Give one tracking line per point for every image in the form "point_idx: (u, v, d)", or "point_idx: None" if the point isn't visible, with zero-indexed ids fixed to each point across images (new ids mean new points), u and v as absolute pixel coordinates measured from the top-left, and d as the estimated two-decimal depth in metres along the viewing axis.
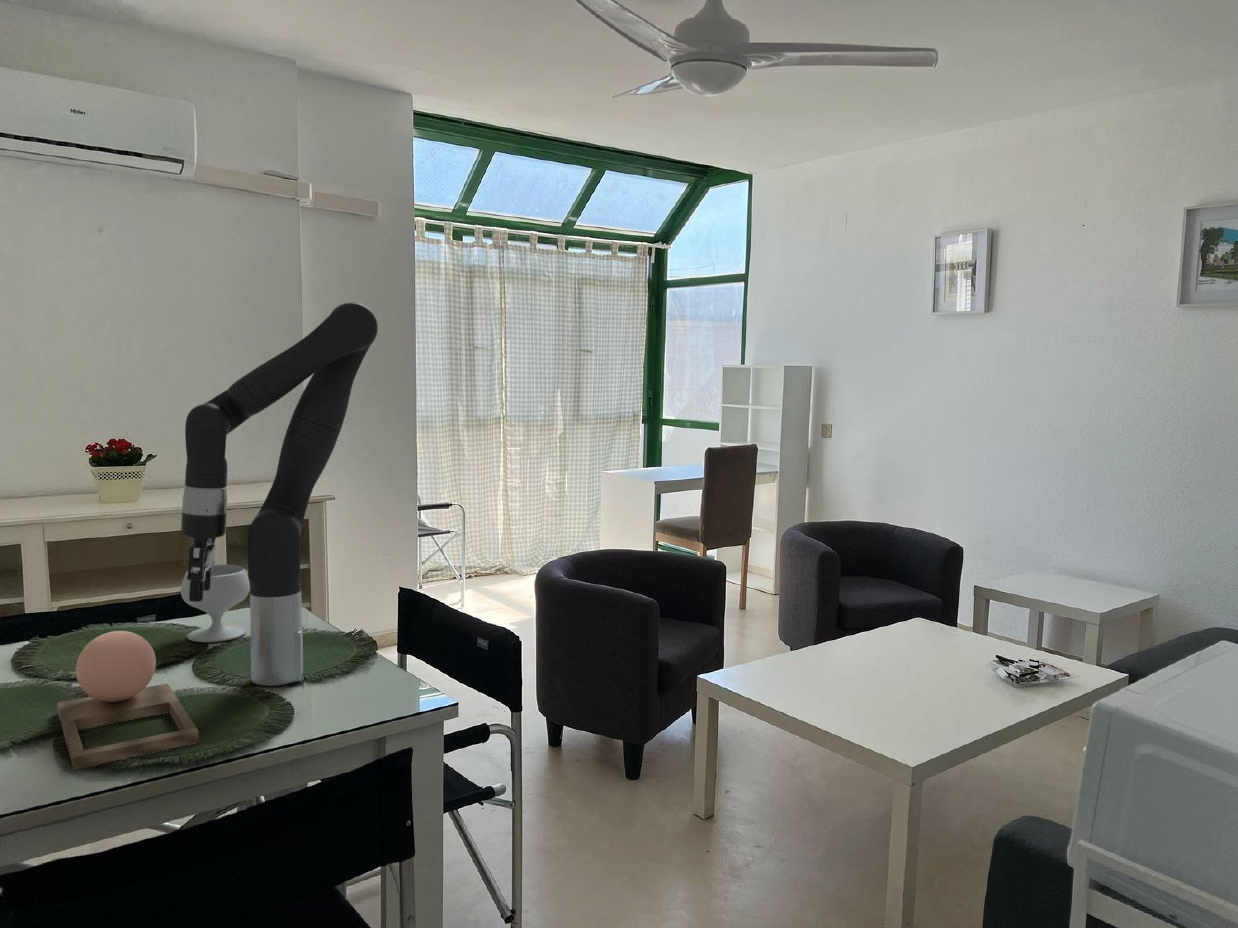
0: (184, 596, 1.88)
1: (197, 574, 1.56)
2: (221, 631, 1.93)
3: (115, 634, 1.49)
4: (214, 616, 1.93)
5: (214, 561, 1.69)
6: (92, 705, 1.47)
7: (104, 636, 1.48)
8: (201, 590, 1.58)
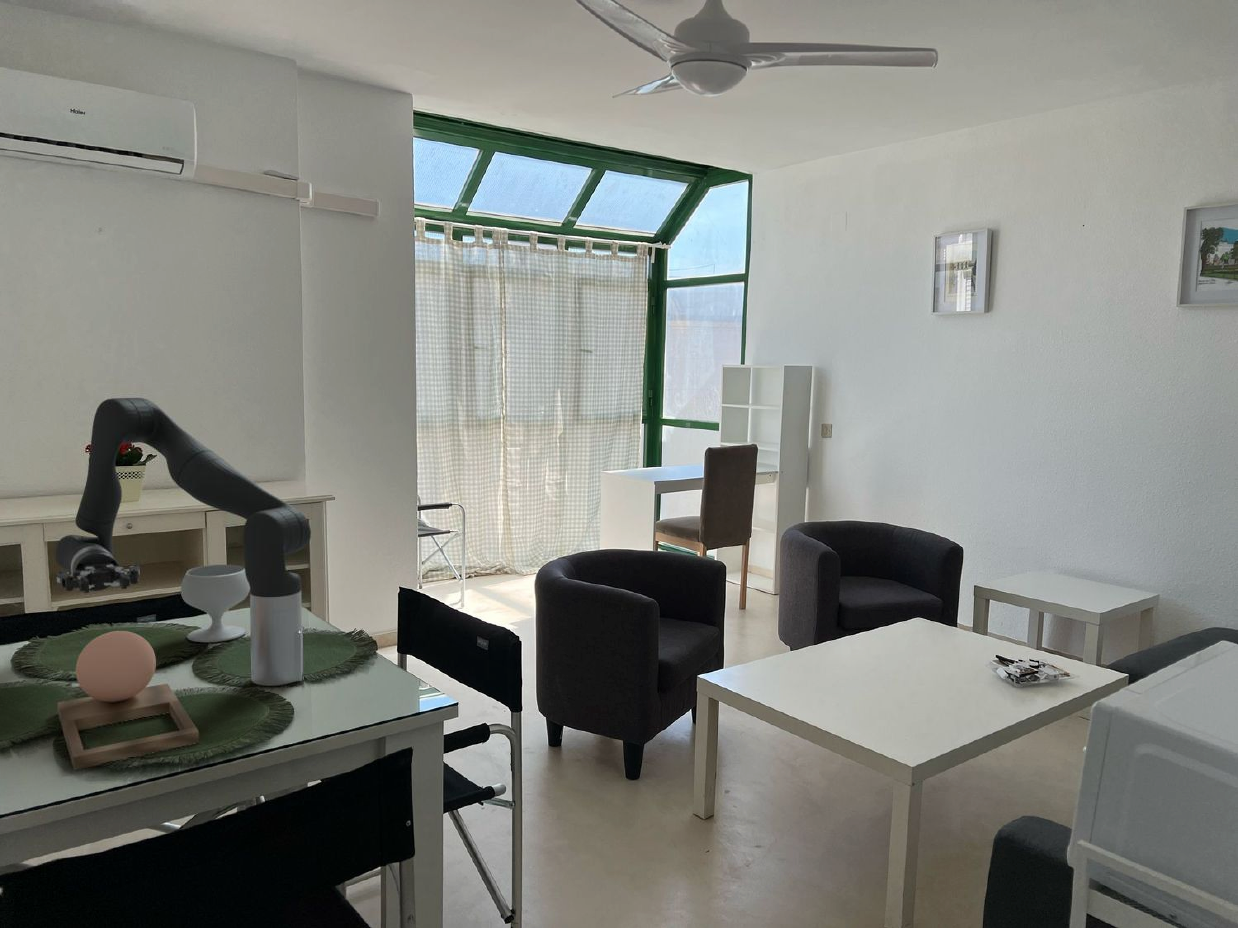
0: (184, 596, 1.88)
1: None
2: (221, 631, 1.93)
3: (115, 634, 1.49)
4: (214, 616, 1.93)
5: (134, 569, 1.64)
6: (92, 705, 1.47)
7: (104, 636, 1.48)
8: (83, 580, 1.56)
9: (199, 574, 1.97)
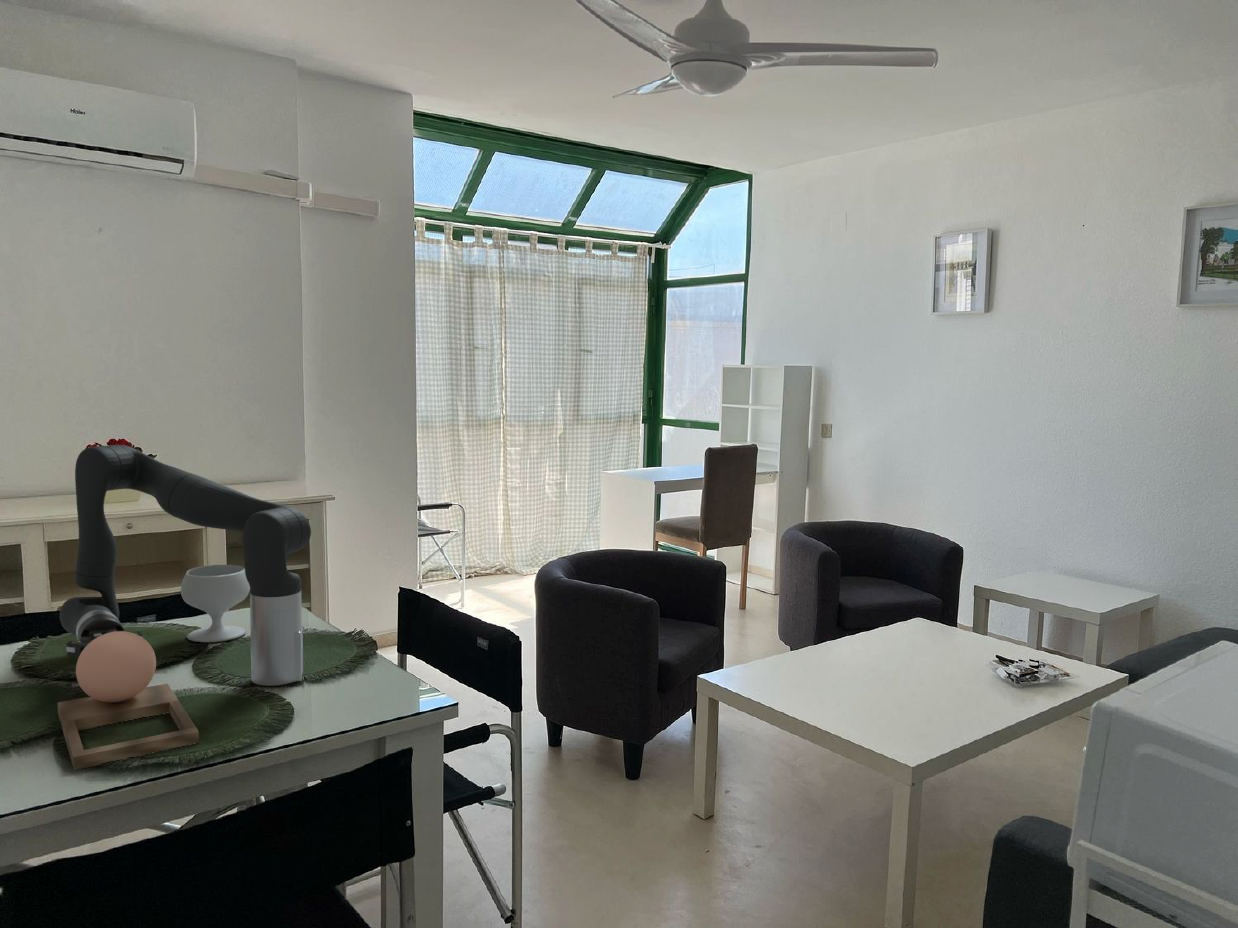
0: (184, 596, 1.88)
1: None
2: (221, 631, 1.93)
3: (116, 635, 1.48)
4: (214, 616, 1.93)
5: None
6: (92, 705, 1.47)
7: (104, 637, 1.47)
8: None
9: (199, 574, 1.97)
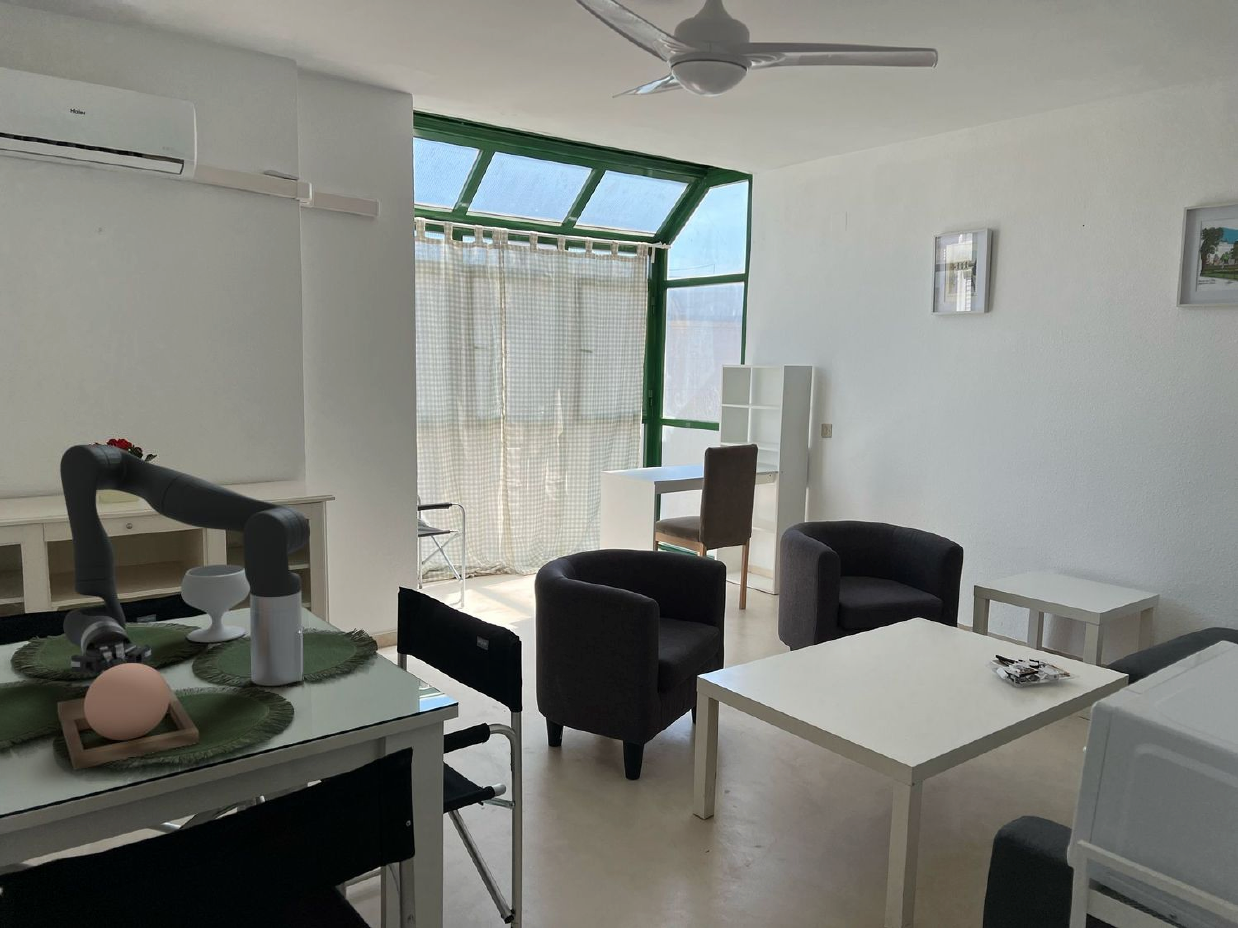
0: (184, 596, 1.88)
1: None
2: (221, 631, 1.93)
3: (131, 737, 1.37)
4: (214, 616, 1.93)
5: (132, 652, 1.53)
6: None
7: (119, 737, 1.36)
8: (112, 663, 1.48)
9: (199, 574, 1.97)
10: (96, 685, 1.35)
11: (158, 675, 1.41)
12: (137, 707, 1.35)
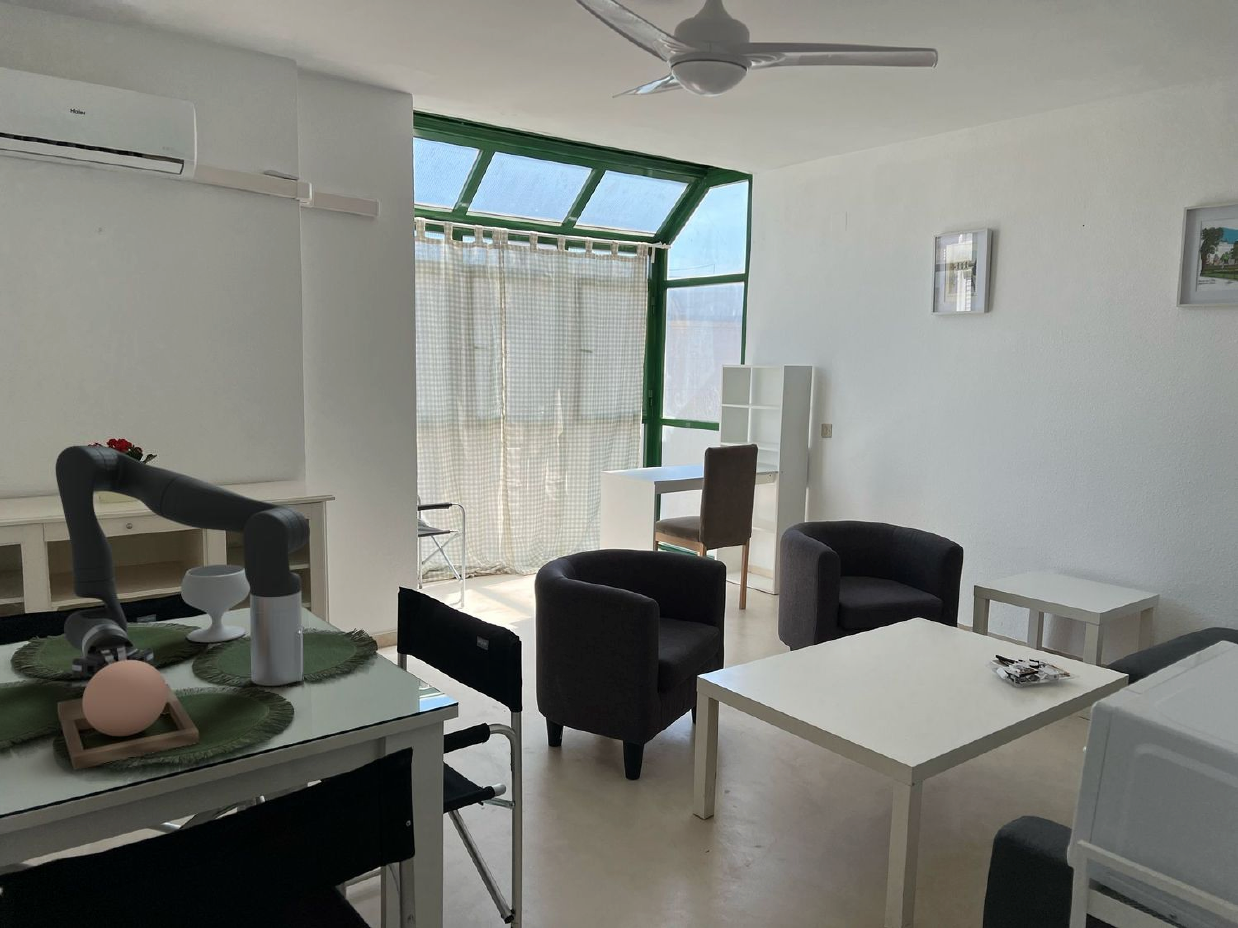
0: (184, 596, 1.88)
1: None
2: (221, 631, 1.93)
3: (130, 727, 1.37)
4: (214, 616, 1.93)
5: (134, 656, 1.51)
6: None
7: (118, 727, 1.36)
8: None
9: (199, 574, 1.97)
10: (93, 678, 1.38)
11: (154, 668, 1.43)
12: (134, 692, 1.37)
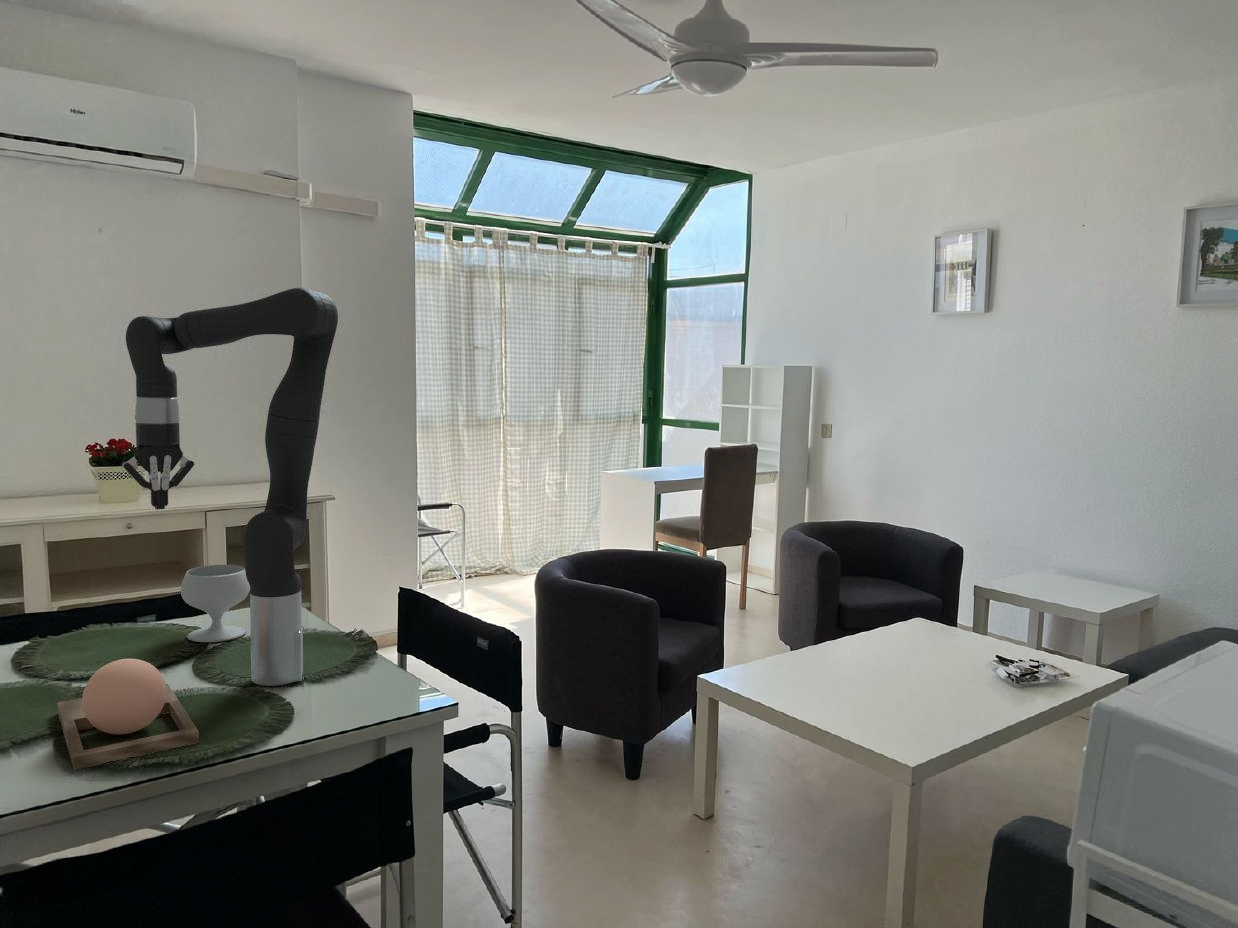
0: (184, 596, 1.88)
1: None
2: (221, 631, 1.93)
3: (130, 722, 1.38)
4: (214, 616, 1.93)
5: (176, 483, 1.70)
6: None
7: (117, 721, 1.37)
8: (156, 499, 1.69)
9: (199, 574, 1.97)
10: (92, 676, 1.39)
11: (153, 666, 1.44)
12: (133, 685, 1.38)
